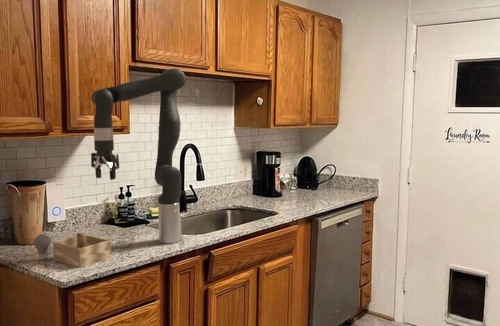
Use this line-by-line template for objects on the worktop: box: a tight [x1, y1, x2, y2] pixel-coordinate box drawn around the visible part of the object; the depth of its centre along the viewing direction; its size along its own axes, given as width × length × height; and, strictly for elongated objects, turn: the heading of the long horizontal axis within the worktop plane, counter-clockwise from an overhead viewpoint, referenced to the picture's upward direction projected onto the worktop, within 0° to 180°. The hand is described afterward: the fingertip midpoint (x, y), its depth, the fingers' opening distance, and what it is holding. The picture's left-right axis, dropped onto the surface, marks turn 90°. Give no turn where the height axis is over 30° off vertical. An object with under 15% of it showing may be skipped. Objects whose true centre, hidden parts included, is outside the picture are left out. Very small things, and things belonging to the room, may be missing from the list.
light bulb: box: [33, 233, 52, 261], centre depth 184 cm, size 6×6×10 cm
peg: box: [76, 232, 87, 248], centre depth 185 cm, size 3×3×10 cm
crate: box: [52, 234, 112, 268], centre depth 185 cm, size 14×16×7 cm
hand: (105, 178), depth 195 cm, fingers open, 8 cm apart
